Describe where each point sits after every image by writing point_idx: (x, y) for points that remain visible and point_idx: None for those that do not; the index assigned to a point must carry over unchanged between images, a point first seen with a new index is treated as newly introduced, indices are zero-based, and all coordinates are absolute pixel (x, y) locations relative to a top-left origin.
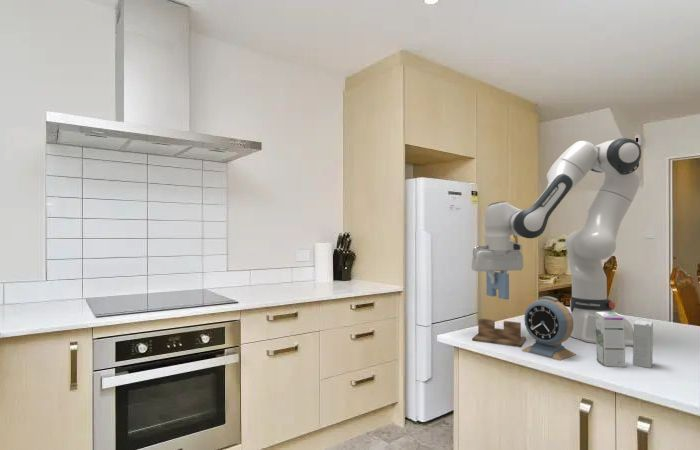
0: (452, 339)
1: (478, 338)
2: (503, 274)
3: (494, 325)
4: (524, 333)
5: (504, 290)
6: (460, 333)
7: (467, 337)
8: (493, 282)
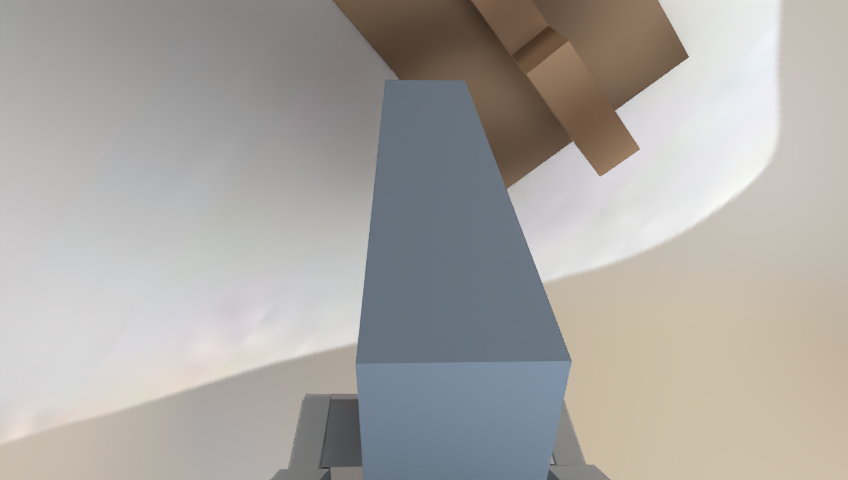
0: (771, 123)
1: (655, 32)
2: (558, 392)
3: (522, 56)
4: (170, 105)
5: (480, 136)
6: (604, 233)
7: (642, 136)
8: (564, 401)
